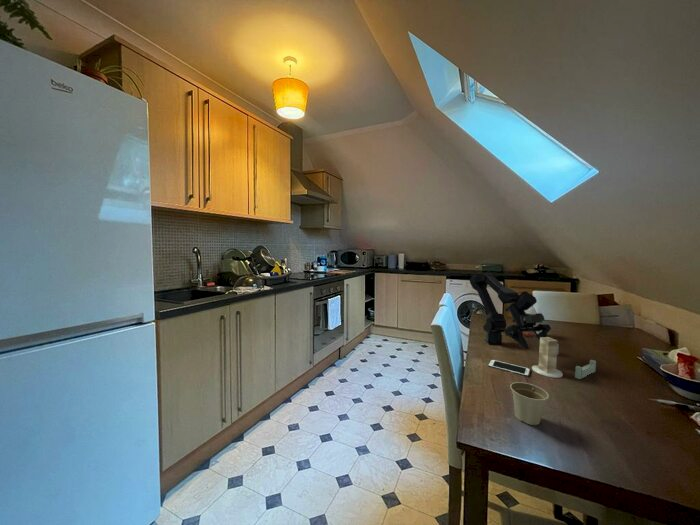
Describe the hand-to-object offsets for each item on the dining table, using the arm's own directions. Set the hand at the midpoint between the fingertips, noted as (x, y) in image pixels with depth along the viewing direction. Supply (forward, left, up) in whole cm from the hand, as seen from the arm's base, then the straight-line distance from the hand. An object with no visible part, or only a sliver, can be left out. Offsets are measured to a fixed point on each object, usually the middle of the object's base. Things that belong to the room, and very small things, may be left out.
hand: (537, 348), depth 112 cm
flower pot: (-22, -38, -8) cm, 44 cm away
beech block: (+1, -5, -7) cm, 9 cm away
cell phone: (-13, -4, -8) cm, 16 cm away
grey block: (+14, +16, -8) cm, 23 cm away
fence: (+15, -5, -8) cm, 18 cm away
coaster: (+1, -5, -8) cm, 9 cm away
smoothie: (+16, +42, -8) cm, 46 cm away
